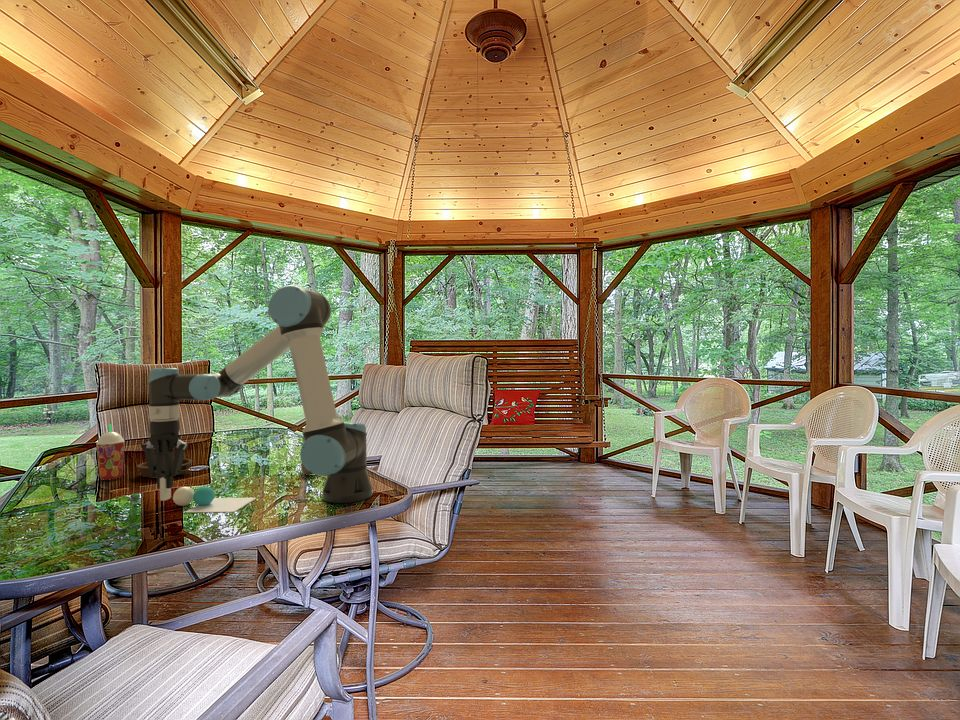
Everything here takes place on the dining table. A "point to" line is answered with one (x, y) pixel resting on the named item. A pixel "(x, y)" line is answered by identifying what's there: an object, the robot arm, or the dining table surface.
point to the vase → (305, 470)
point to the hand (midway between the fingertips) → (165, 499)
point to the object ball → (204, 496)
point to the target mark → (222, 505)
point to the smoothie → (110, 455)
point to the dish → (145, 473)
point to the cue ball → (183, 496)
